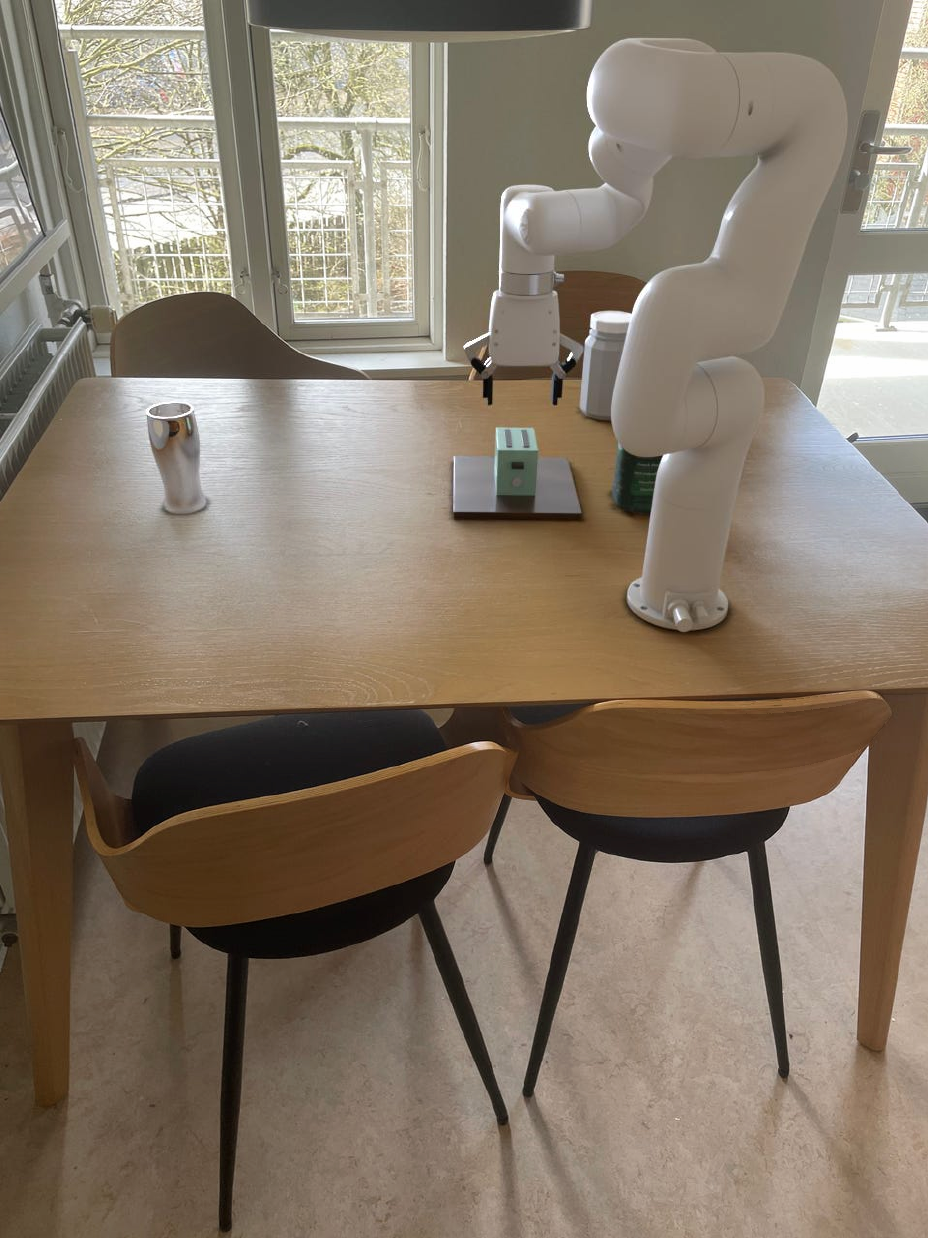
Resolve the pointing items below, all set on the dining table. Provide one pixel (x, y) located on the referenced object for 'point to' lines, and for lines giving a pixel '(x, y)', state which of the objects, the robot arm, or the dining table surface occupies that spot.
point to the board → (482, 502)
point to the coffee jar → (634, 481)
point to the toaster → (515, 461)
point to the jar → (602, 362)
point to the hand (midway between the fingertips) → (521, 402)
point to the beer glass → (177, 455)
